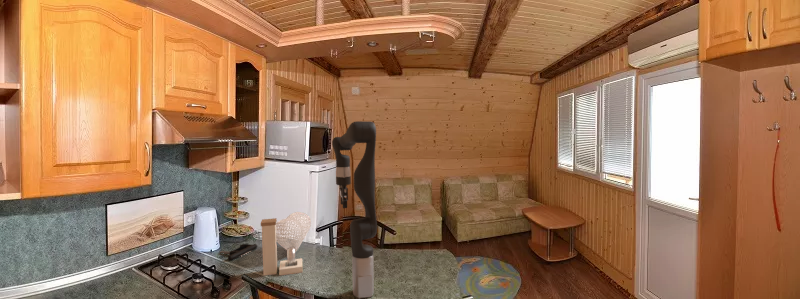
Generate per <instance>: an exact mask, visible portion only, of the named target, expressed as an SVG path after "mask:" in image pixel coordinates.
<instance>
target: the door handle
mask: <svg viewBox="0 0 800 299" xmlns="http://www.w3.org/2000/svg"><path fill="white" fill-rule="evenodd" d="M257 248H258V245H257V244H256V243H254V244H250V243H249V244H247V243H246V244H245V243H242V244H240V246H239V247H237V248H235V249H233V250H230V251H229V250H228V251H227V250H220V251H219V254H220V253H224V254H229V255H228V257H227V259H228V260H229V261H234V260H235V259H236V260H237V259H238V258H241V257H243V256H242V255H244V256H245V254H246V255H247V253H248V254H249V252H250V253H252V251H254V250H256V249H257ZM240 256H241V257H240ZM233 259H234V260H233Z"/></svg>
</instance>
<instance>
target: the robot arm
mask: <svg viewBox="0 0 800 299" xmlns="http://www.w3.org/2000/svg"><path fill="white" fill-rule="evenodd" d="M376 142H377V127H376V124H375V123H374V121H371V120H370V121H365V120H364V121H361V120H359V121H358V120H357V121H356V120H355V121H353V122H351V123H350V124H349V125H348V128H347V129H346V131H345V133H344V134H343V135H342V136H335V137H334V138H333V139H332V141H331V145H332V148H333V152H334V155H335V166H336V167H335V182H336V183H335V184H336V185H337V186H339V197H340V205H342V208H343V209H347V208H348V201H349V189H348V187H347V186H349V185H351V184H352V183H351V182H352V179H351V177H352V176H351V157H350V156H349V155H347V154H342V152H341V151H350V150H352V149H353V146H355V145H356V144H365V151H364V153H363V156H362V158H361V159H360V162H359V163H358V164H357V165H356V167H355V170H354V172H353V190H354V192H355V194H356V195H357V197H358V199H359V200H360V201H361V203H362V204H363V208H364V215H365V217H361V218H356V219H352V220H351V222H350V224H349V234H350V248H351V254H352V255H351V256H352V257H351V260H352V262H351V263H352V264H351V265H352V295H353V296H354V297H356V298H357V299H365V298H371V297H373V294H374V292H375V285H374V284H375V280H374V272H375V270H374V269H375V267H374V264H375V263H374V248H373V246H372V245H370V244H369V245H368V244H363V241H365V240H368V239H373V238H374V237H376V235H377V232H378V223H377V222H378V220H377V213H376V212H377V211H376V169H375V168H376V166H375V165H376V164H375V163H376V162H375V160H376V157H375V156H376V155H375V154H376Z"/></svg>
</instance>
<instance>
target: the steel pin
mask: <svg viewBox="0 0 800 299" xmlns="http://www.w3.org/2000/svg"><path fill="white" fill-rule="evenodd" d="M286 249H287V250H286V260H287V267H288V266H296V261H295V259H296V252H295V249H296V248H295V246H293V247H292V246H291V247H290V248H286Z"/></svg>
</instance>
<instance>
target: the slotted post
mask: <svg viewBox="0 0 800 299" xmlns="http://www.w3.org/2000/svg"><path fill="white" fill-rule="evenodd" d="M277 220H278V219H277V218H274V217H273V218H264V219H261V221H260V227H261V236H262V237H261V242H262V244H261V245H262V268H263V276H270V275H277V272H278V273H279V274H278V275H279V276H285V275H293V274H300V273H302V274H303V272H304V271H303V269H304V268H303V258H295V261H296V266H288V267H287V259H285V260H280V261H279V262H280V263H279V269H278V249H277V241H276V235H277V230H276V225H277V224H276V223H277V222H278V221H277ZM278 270H279V271H278Z"/></svg>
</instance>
